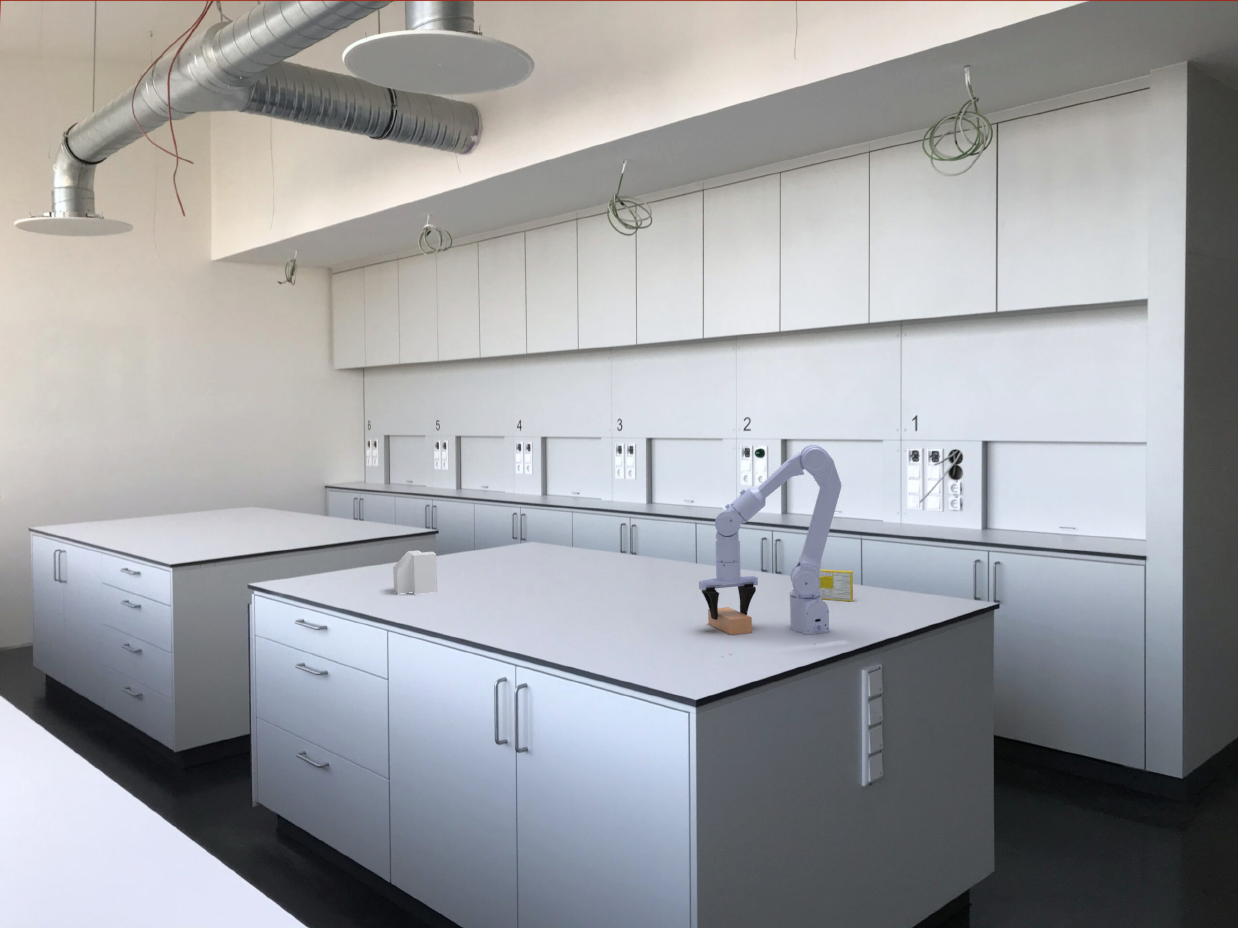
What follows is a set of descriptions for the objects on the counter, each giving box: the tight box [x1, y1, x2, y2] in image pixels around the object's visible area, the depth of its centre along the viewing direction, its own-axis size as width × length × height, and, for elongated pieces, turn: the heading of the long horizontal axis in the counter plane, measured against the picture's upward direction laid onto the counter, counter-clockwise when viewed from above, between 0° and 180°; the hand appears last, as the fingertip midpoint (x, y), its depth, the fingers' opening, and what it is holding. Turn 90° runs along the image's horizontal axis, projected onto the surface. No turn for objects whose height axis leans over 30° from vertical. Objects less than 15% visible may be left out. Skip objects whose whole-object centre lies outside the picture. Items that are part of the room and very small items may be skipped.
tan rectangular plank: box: [707, 607, 753, 636], centre depth 228 cm, size 13×5×4 cm, turn 19°
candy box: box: [818, 568, 854, 603], centre depth 264 cm, size 16×2×8 cm, turn 59°
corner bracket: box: [392, 550, 439, 595], centre depth 292 cm, size 11×11×12 cm
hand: (729, 617), depth 228 cm, fingers open, 7 cm apart
